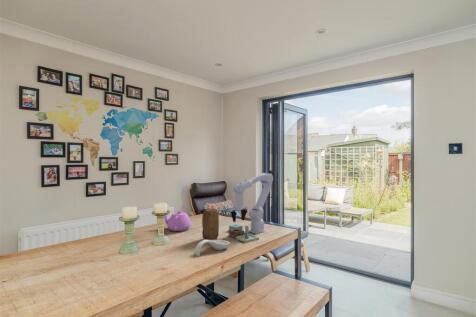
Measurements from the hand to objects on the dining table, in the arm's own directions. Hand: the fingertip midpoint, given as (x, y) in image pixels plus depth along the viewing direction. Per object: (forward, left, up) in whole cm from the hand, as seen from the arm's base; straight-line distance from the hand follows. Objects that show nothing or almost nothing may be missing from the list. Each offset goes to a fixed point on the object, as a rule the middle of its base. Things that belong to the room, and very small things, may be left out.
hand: (238, 220), depth 187 cm
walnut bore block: (+3, +1, -10) cm, 10 cm away
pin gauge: (+1, +11, -9) cm, 14 cm away
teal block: (-4, -9, -10) cm, 14 cm away
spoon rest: (+31, +16, -10) cm, 36 cm away
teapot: (+31, -37, -10) cm, 49 cm away
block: (+23, -1, -10) cm, 25 cm away
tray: (+1, +11, -10) cm, 15 cm away
